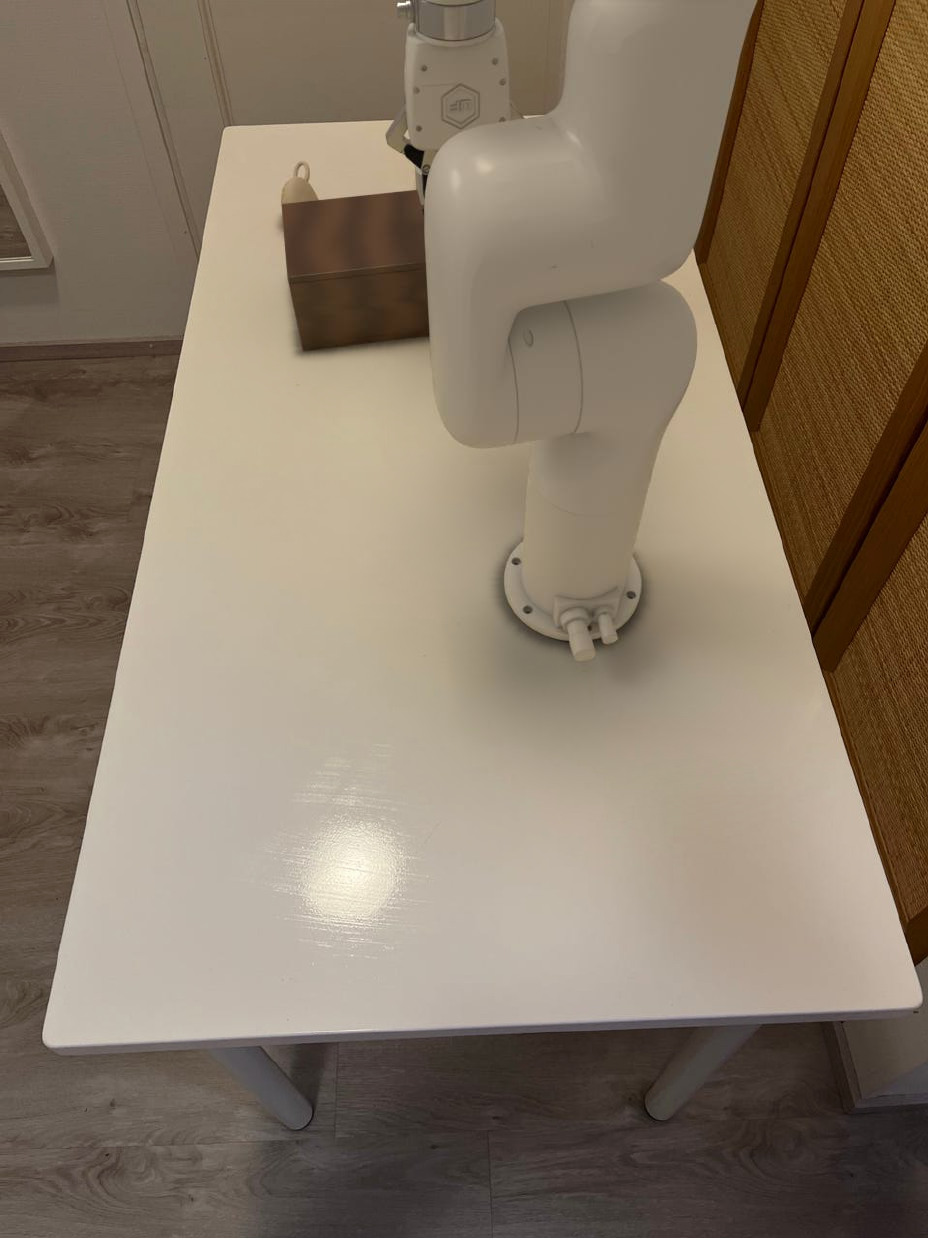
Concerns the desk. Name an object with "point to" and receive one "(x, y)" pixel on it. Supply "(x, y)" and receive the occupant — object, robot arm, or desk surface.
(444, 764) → the desk surface
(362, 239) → the cabinet
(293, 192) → the decorative ornament
